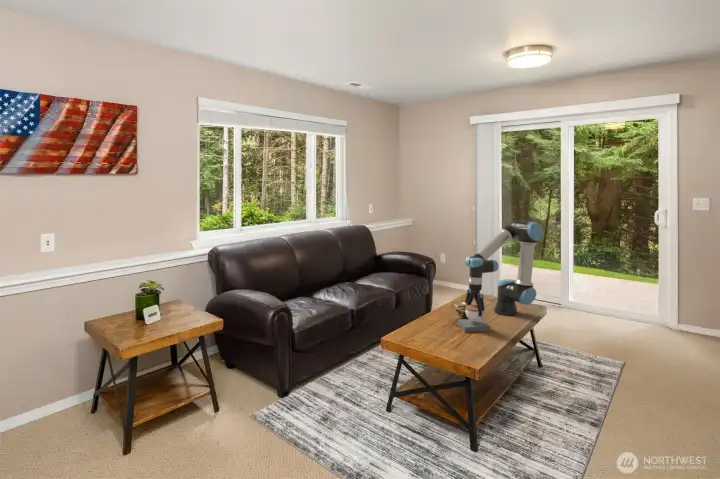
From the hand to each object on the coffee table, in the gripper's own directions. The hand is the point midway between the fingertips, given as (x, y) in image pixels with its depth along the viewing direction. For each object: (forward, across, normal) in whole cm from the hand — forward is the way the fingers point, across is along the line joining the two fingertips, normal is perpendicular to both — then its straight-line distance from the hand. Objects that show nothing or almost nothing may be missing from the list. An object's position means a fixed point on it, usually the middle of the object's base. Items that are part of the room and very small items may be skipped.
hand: (473, 317), depth 258 cm
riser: (+6, 0, 0) cm, 6 cm away
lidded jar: (+1, 0, 0) cm, 1 cm away
